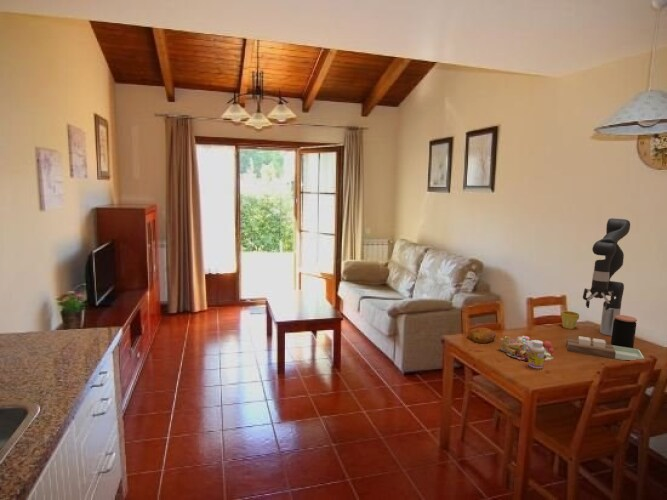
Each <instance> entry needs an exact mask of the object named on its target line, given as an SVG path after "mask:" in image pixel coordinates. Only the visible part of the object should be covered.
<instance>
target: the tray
mask: <svg viewBox="0 0 667 500" xmlns="http://www.w3.org/2000/svg"><path fill="white" fill-rule="evenodd" d="M612 346H613V348H614V350H615V352H616V354H615V360H621V361H625V360H636V359H644V360H645V357H644V355H643V354H642V352H641V351H640V349H638V348H634V347H633V348H627V347H620V346H614V345H612Z"/></svg>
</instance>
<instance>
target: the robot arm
mask: <svg viewBox="0 0 667 500" xmlns="http://www.w3.org/2000/svg"><path fill="white" fill-rule="evenodd" d="M605 228H606V230H605V231H606V234H605V235H604V236H603V238H602V239H599V240H597V241H596V242H595V243H593V245H592V252H593V254H594V255H596V256H603V257H604V259H596V260H595V261H594V267H593V273H592V281H591V287H590V289H589V288H586V287H585V288H584V289H583V294H582V299H583V300H584V301H585V307H586V309H589V308H590V301H591V300H593V298H595V299H600V300H601V299H604V301H603V305H602V312H601V320H600V321H601V322H600V327H599V332H600V334H602V335H606V336H611V337H612V330H613V322H614V319H615V318H614V316H615V315H621V309H622V300H623V296H624V290H625V284H624V282H621V281H614V280H611V278H612V277H613V276H614V275H615V274H616V272H618V271H619V270H620V269H621V268H622V267H623V265H624V257H625V256H624V255H625V254H624V251H623V250H622V248H621V246H620V245H619V244H618V242H619V241H621V240H622V239H623V238H624V237H626V236H628V233H629V232H630V230H631V222H630V221H629V220H628V219H625V218H613V217H611V218H608V220H607V223H606V227H605ZM588 293H590V294H589V295H588ZM587 295H588V297H587ZM608 296H609V297H610V299H608Z"/></svg>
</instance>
